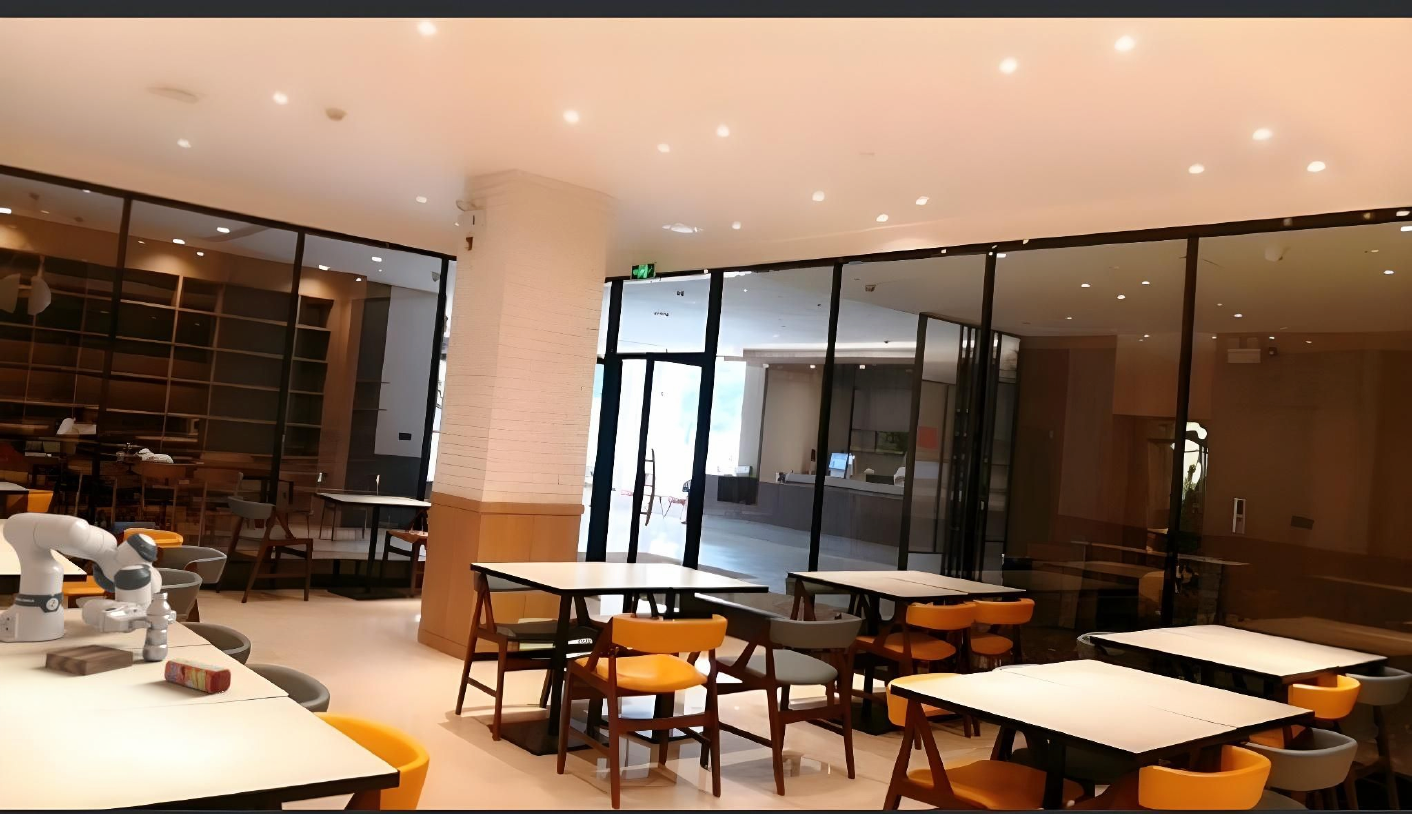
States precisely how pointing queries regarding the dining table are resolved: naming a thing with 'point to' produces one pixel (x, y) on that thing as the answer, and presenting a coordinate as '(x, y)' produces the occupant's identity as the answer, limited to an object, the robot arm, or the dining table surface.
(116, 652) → the walnut stand
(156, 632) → the plastic bottle
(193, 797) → the dining table surface
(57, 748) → the dining table surface
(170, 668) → the snack package
